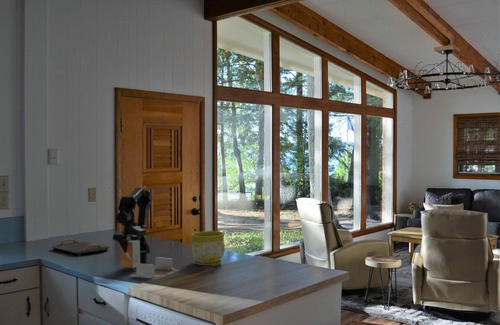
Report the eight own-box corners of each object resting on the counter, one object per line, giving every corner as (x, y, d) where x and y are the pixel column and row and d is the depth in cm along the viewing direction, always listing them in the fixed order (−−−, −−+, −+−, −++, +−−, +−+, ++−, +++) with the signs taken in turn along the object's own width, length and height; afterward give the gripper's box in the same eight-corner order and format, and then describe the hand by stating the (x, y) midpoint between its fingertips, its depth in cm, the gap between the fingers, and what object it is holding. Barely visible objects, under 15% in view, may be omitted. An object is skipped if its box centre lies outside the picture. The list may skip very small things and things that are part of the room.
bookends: (159, 267, 273) (158, 256, 273) (175, 269, 268) (174, 257, 268) (134, 276, 255) (133, 264, 255) (150, 278, 251) (150, 265, 251)
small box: (119, 267, 267) (119, 241, 267) (127, 264, 273) (126, 239, 273) (133, 268, 264) (132, 242, 264) (140, 265, 270) (140, 240, 270)
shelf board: (153, 268, 275) (153, 267, 275) (180, 271, 267) (180, 270, 267) (128, 277, 257) (128, 275, 257) (156, 280, 249) (156, 279, 249)
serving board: (113, 252, 326) (113, 242, 326) (78, 258, 309) (78, 247, 309) (81, 245, 353) (81, 235, 352) (48, 250, 336) (47, 240, 336)
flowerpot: (188, 262, 288) (187, 232, 287) (219, 259, 294) (218, 230, 294) (196, 269, 271) (195, 237, 271) (229, 265, 277) (229, 234, 277)
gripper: (129, 224, 256) (130, 256, 257) (153, 219, 273) (154, 249, 273) (111, 223, 261) (112, 254, 262) (136, 218, 278) (137, 247, 278)
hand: (129, 251), depth 269 cm, fingers closed on small box, 6 cm apart
